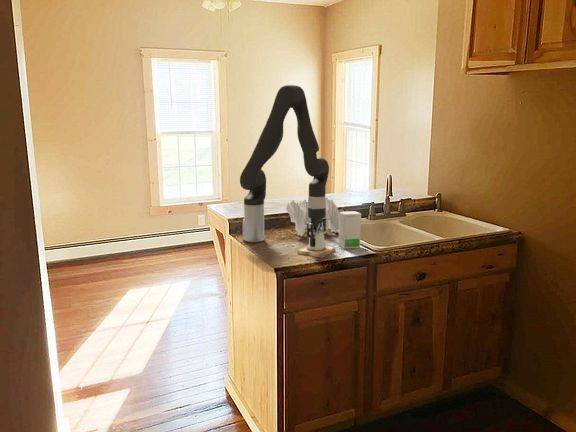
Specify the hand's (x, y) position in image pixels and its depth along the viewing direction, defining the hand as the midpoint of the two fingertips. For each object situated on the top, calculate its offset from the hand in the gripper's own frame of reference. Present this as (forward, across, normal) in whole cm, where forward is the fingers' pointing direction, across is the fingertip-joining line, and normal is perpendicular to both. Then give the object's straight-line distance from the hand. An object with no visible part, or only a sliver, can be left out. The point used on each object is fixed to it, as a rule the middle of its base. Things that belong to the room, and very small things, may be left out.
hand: (316, 244), depth 216 cm
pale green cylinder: (+2, 0, 0) cm, 2 cm away
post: (+3, 0, 0) cm, 3 cm away
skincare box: (+4, -15, +9) cm, 18 cm away
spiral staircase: (+4, -28, -14) cm, 31 cm away
